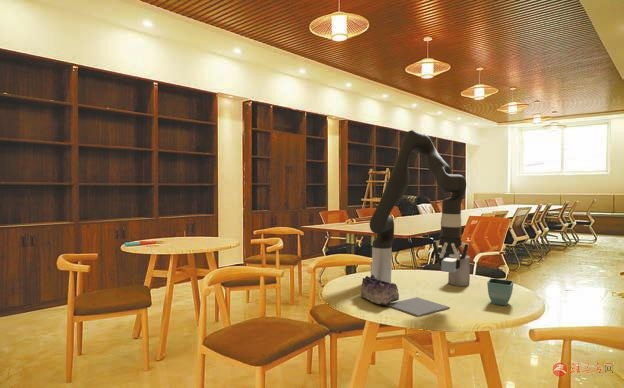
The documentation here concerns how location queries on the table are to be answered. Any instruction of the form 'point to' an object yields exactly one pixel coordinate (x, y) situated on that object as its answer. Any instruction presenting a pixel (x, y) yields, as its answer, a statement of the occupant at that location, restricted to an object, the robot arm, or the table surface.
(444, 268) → the card box
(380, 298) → the geode
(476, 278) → the table surface
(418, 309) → the rubber mat
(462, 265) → the pillar candle
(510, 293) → the flower pot
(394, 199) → the robot arm
